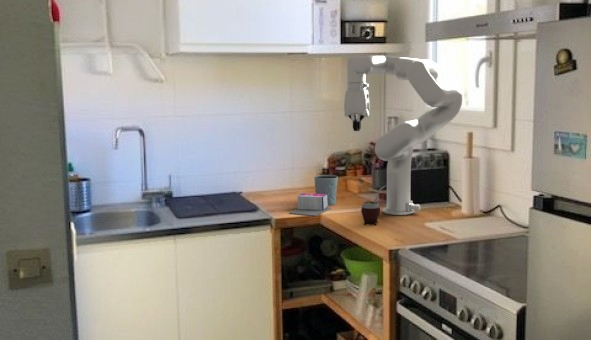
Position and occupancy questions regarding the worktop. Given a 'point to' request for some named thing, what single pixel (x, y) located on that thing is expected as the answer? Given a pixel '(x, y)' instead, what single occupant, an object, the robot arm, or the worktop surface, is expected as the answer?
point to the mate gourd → (371, 211)
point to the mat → (308, 212)
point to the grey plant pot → (327, 187)
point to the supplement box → (312, 201)
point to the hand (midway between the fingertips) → (356, 130)
